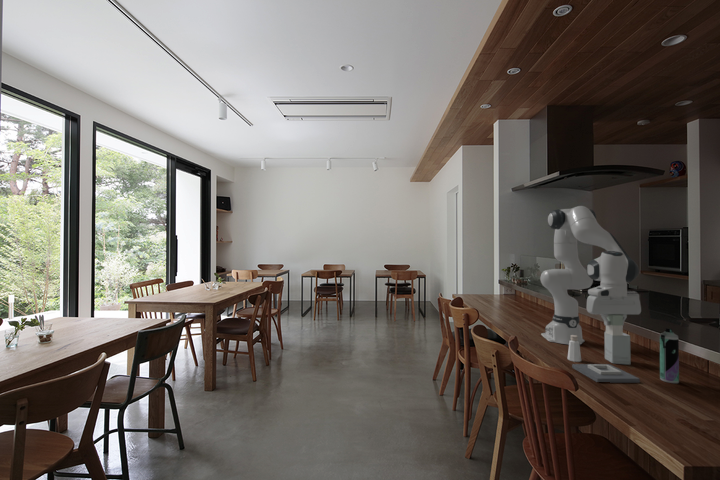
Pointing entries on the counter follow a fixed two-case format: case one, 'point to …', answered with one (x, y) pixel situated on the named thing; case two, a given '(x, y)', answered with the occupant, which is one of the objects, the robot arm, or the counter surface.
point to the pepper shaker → (574, 349)
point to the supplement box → (617, 349)
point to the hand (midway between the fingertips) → (613, 325)
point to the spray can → (669, 356)
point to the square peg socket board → (605, 373)
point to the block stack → (615, 325)
